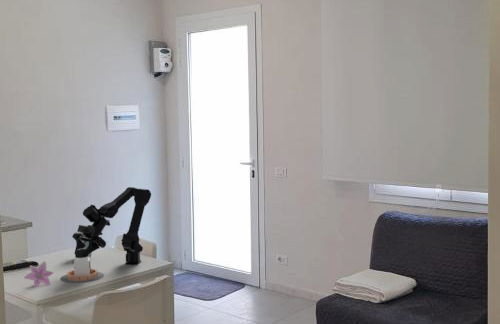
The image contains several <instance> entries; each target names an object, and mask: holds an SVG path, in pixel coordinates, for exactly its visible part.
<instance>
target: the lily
mask: <svg viewBox="0 0 500 324" xmlns="http://www.w3.org/2000/svg"><path fill="white" fill-rule="evenodd" d="M29 268H30V273H28V274H26V275H25V276H24V277H23V278H24V279H25V280H29V281H33V287H34V288H37V287H38V286H39V285H41V284H43V285H45V286H51V285H52V284H51V281H50V279H49V277H51V276H52V275H54V272H52V271H50V270H49V271H48V270H47V262H46V260H45V261H42V262H41V263H40V264H39V265H38V267H36V266H34V265H29Z"/></svg>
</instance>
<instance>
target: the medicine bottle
mask: <svg viewBox="0 0 500 324" xmlns="http://www.w3.org/2000/svg"><path fill="white" fill-rule="evenodd" d="M85 251H86V249H78V250H76V251H75V250H74V253H75V254H74V255H75V256H74V261H73V267H74V268H73V270H74V273H75V276H84V275H90V274H91V269H92V268H91V258H90V257H89V256H88V255H87V256H85V257H84V256H83V255H84V253H85Z"/></svg>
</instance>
